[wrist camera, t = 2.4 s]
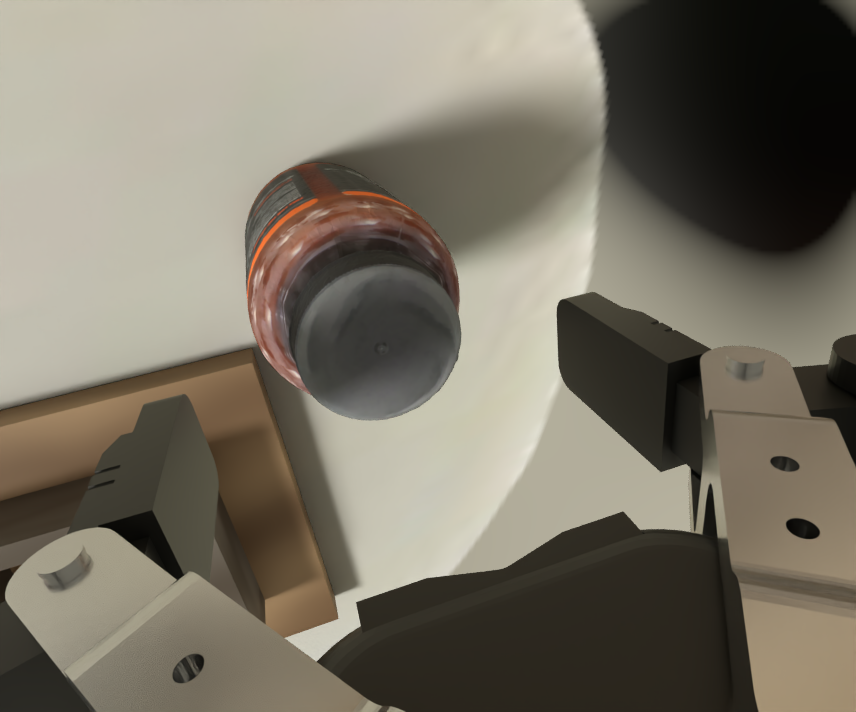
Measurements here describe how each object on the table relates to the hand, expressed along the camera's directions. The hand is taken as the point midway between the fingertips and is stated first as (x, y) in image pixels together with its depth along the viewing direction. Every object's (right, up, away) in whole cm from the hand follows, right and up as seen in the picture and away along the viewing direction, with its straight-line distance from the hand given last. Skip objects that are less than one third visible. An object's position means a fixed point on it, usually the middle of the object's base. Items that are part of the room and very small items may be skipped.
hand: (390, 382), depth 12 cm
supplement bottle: (-4, +6, +11) cm, 13 cm away
